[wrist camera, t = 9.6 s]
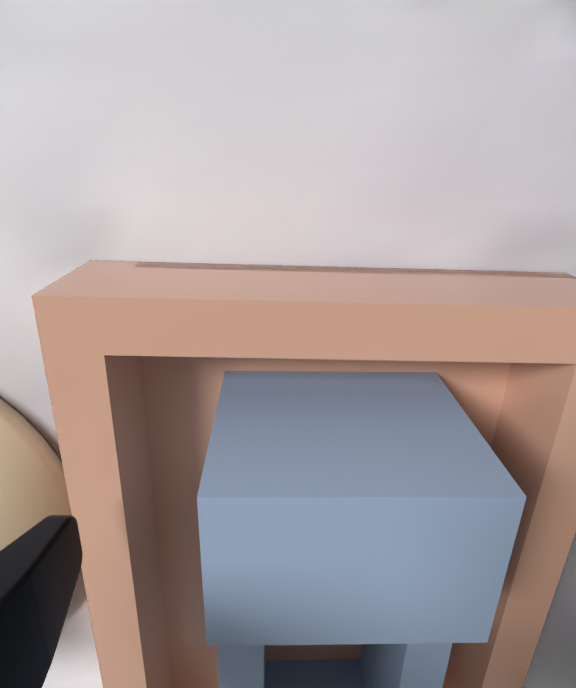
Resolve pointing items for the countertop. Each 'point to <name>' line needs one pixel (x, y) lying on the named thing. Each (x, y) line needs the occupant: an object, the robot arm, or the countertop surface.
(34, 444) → the pot lid
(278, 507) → the blue open frame block
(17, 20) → the countertop surface
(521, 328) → the tray
